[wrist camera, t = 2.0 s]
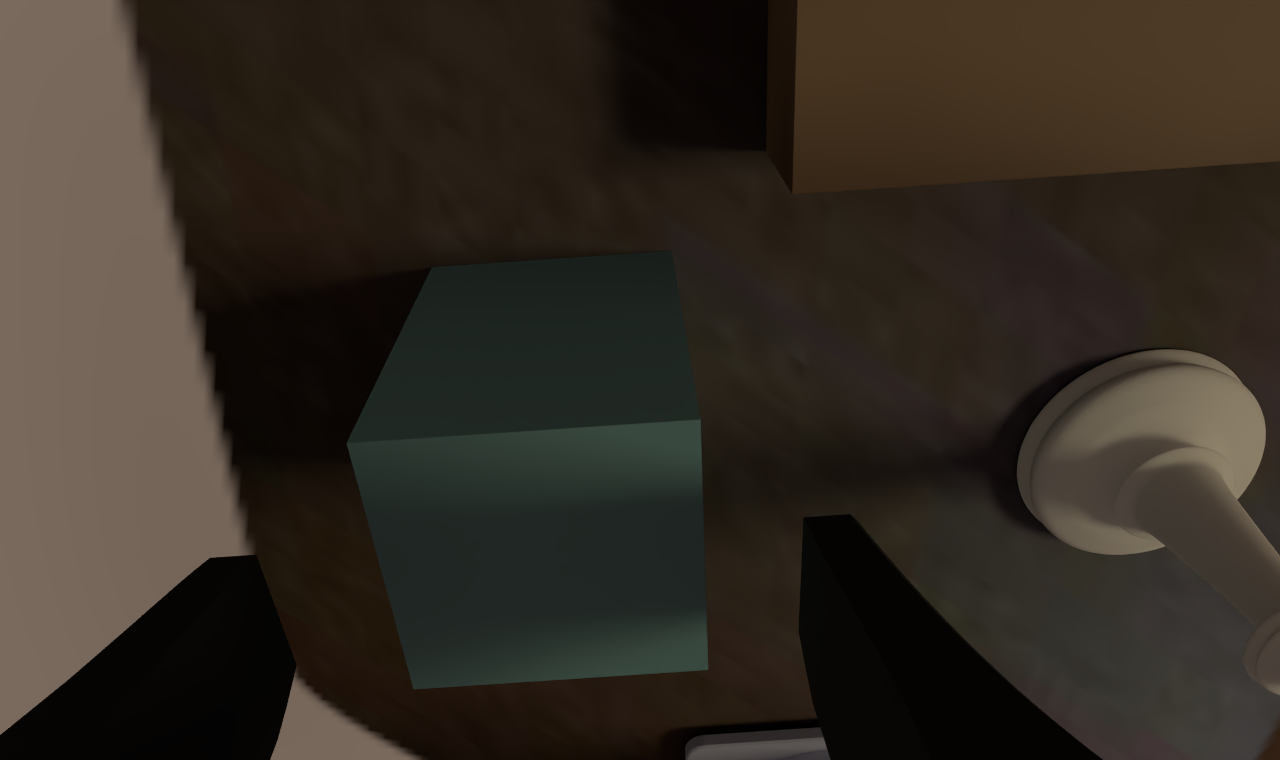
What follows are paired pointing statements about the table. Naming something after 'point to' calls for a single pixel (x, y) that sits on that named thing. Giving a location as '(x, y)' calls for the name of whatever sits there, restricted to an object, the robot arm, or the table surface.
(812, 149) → the walnut base
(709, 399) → the table surface
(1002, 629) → the table surface
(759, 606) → the table surface
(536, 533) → the teal block
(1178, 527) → the chess piece
